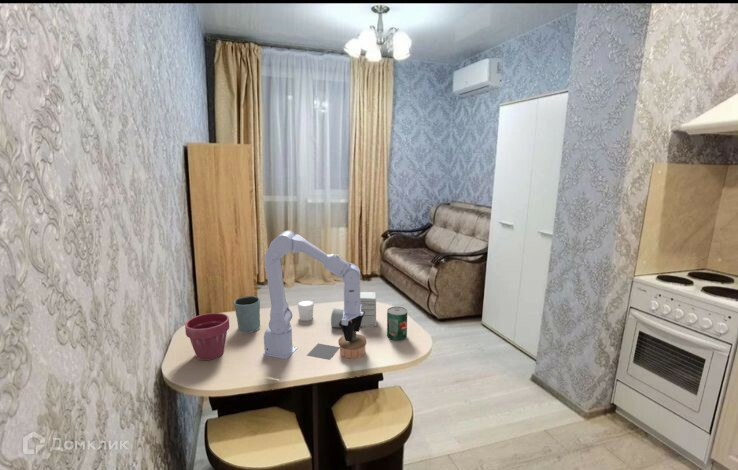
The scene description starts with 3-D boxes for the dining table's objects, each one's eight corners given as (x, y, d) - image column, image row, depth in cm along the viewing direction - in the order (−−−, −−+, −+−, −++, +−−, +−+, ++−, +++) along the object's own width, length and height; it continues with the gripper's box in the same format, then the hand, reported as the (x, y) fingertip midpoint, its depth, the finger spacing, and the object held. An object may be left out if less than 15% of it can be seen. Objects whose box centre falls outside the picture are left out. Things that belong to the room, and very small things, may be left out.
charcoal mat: (306, 356, 130) (306, 355, 130) (318, 344, 139) (318, 343, 139) (329, 360, 127) (329, 359, 127) (340, 348, 136) (340, 347, 136)
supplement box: (359, 319, 161) (359, 291, 158) (376, 319, 160) (376, 291, 158) (358, 326, 153) (357, 298, 151) (375, 327, 153) (376, 298, 151)
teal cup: (254, 334, 147) (252, 305, 144) (231, 332, 148) (228, 304, 146) (265, 323, 157) (264, 296, 154) (243, 321, 158) (241, 295, 156)
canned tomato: (408, 341, 141) (408, 314, 139) (387, 341, 141) (387, 314, 139) (405, 332, 149) (406, 306, 146) (386, 332, 149) (386, 306, 146)
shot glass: (317, 317, 163) (316, 302, 161) (306, 322, 157) (306, 307, 156) (305, 313, 166) (305, 298, 165) (294, 319, 161) (294, 303, 159)
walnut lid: (334, 346, 129) (333, 336, 128) (344, 334, 138) (344, 324, 137) (360, 351, 126) (360, 341, 125) (370, 338, 135) (370, 328, 134)
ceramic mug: (350, 331, 149) (350, 313, 148) (330, 330, 150) (330, 312, 149) (354, 320, 159) (354, 303, 158) (336, 319, 160) (335, 302, 159)
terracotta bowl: (336, 356, 130) (335, 346, 129) (345, 344, 138) (345, 335, 137) (360, 361, 127) (360, 350, 126) (368, 348, 135) (368, 338, 135)
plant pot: (210, 341, 141) (208, 309, 139) (240, 348, 136) (237, 315, 133) (179, 359, 128) (175, 325, 126) (210, 368, 123) (206, 332, 120)
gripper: (355, 309, 121) (355, 347, 123) (369, 294, 134) (369, 328, 137) (335, 306, 123) (336, 343, 126) (351, 291, 136) (351, 325, 139)
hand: (352, 335), depth 131 cm, fingers open, 7 cm apart
